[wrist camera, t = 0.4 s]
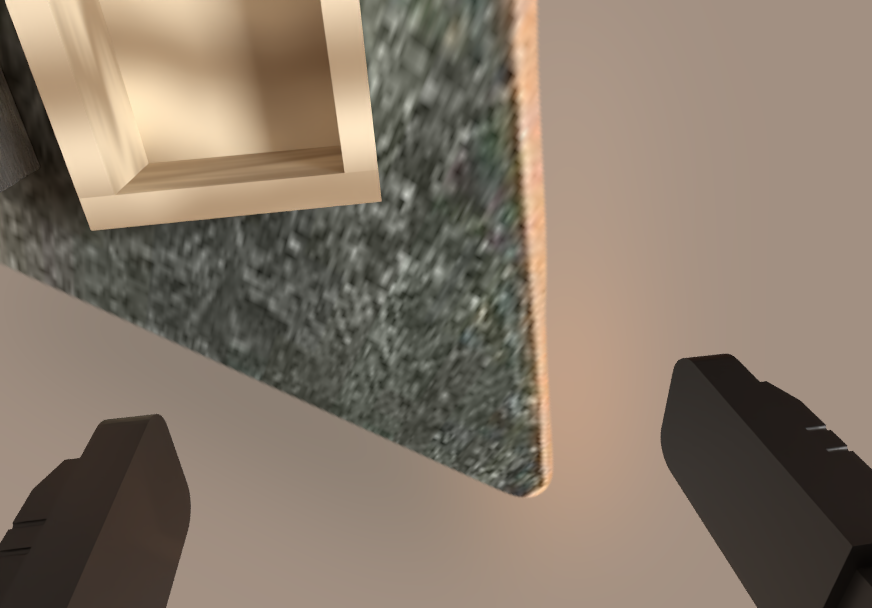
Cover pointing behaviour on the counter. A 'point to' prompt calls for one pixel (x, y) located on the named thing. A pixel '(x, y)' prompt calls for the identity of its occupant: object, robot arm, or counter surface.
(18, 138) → the backstop wall
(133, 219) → the open wooden box
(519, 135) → the counter surface
